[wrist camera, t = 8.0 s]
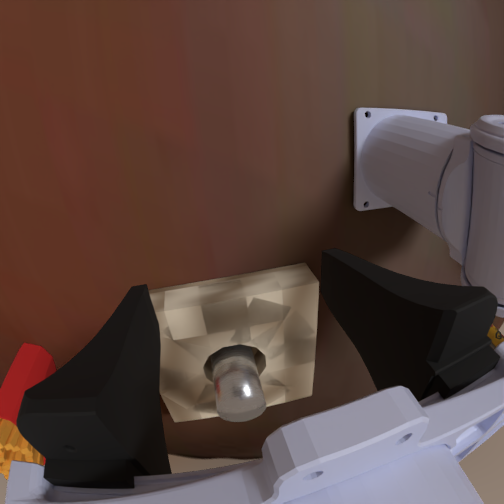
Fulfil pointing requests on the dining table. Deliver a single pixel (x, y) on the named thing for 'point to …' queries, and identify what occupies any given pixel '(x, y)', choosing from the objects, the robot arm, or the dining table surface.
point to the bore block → (237, 335)
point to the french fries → (9, 400)
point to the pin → (237, 384)
